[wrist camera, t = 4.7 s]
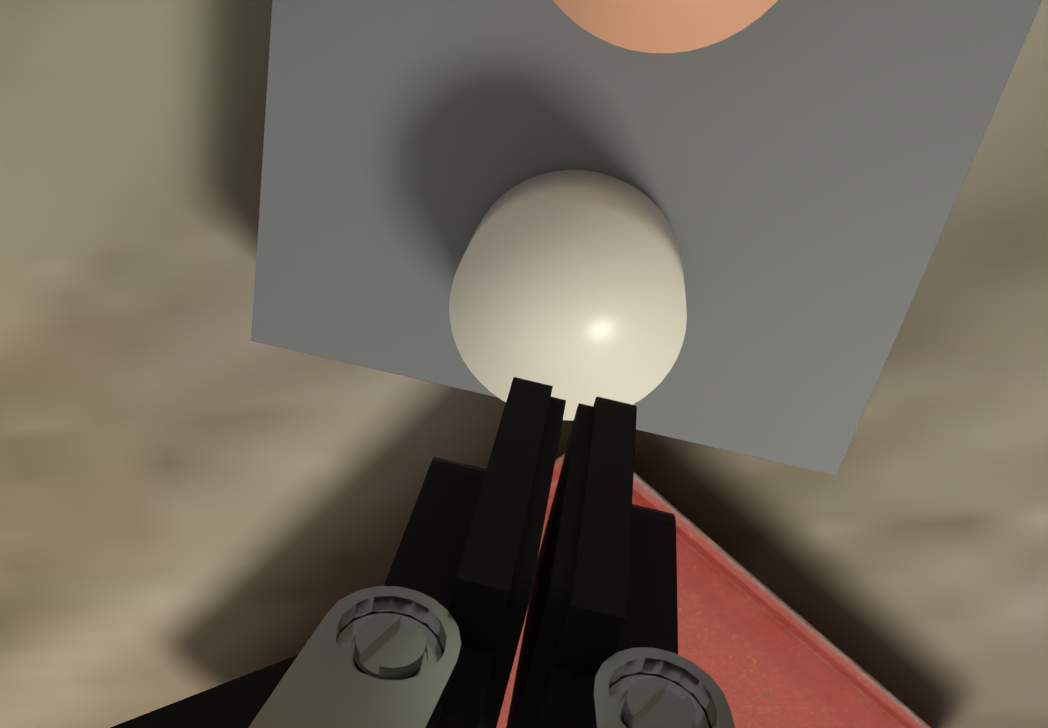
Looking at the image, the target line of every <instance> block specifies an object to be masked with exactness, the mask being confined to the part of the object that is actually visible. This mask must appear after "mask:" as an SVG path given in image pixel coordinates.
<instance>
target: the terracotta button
mask: <svg viewBox="0 0 1048 728" xmlns="http://www.w3.org/2000/svg"><path fill="white" fill-rule="evenodd" d="M553 1H554V2H555V3H556V5H557V6H558V7H559V8H560V9H561V10H562V11H563V12H564V13H565V14H566V15H567V16H568V17H569V18H570V19H572V20H573V21H574V22H575V23H576V24H578V25H579V26H580V27H581V28H583V29H584V30H586V31H588V32H589V33H591V34H592V35H594V36H596V37H597V38H600V39H602V40H604V41H606V42H608V43H611V44H613V45H616V46H619V47H622V48H626V49H629V50H633V51H640V52H646V53H677V52H685V51H691V50H695V49H699V48H703V47H707V46H709V45H712V44H714V43H717V42H719V41H722V40H724V39H726V38H728V37H730V36H732V35H734V34H736V33H737V32H739V31H741V30H743V29H744V28H746V27H747V26H748V25H750V24H751V23H753V22H754V21H755V20H757V19H758V18H760V17H761V16H762V15H763V14H764V13H765V12H766V11H767V10H768V9H769V8H771V7H772V6H773V5H774V4H775V3H776V2H777V1H778V0H553Z"/></svg>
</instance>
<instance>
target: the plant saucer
mask: <svg viewBox="0 0 1048 728" xmlns="http://www.w3.org/2000/svg"><path fill="white" fill-rule="evenodd" d="M564 456H565V453H564V454H563V455H562V456H560V457H559V458H558V459H556V460H555V465H554V471H553V476H552V482H551V488H550V493H549V499H548V504H547V510H546V515H545V521H544V526H543V532H542V537H541V543H540V548H541V544H542V540H543V536H544V532H545V529H546V525H547V521H548V517H549V513H550V509H551V506H552V502H553V498H554V494H555V490H556V486H557V483H558V479H559V475H560V471H561V467H562V464H563V460H564ZM632 504H635V505H639V506H643V507H647V508H651V509H656V510H660V511H664V512H668V513H672V514H674V516H675V519H676V549H677V610H678V655H680V656H682V657H684V658H686V659H688V660H690V661H692V662H694V663H695V664H696V665H697V666H699V667H700V668H701V669H702V670H704V671H705V672H706V673H707V674H709V675H710V676H711V677H712V679H713V680H714V681H715V682H716V684H717V685H718V686H719V687H720V689H721V690H722V691H723V693H724V695H725V698H726V700H727V702H728V705H729V707H730V709H731V713H732V717H733V721H734V725H735V728H932V727H931V726H929V725H928V724H927V723H926V722H925V721H924V720H923V719H921V718H920V717H919V716H918V715H917V714H915V713H914V712H913V711H912V710H911V709H910V708H908V707H907V706H906V705H905V704H904V703H903V702H901V701H900V700H899V699H898V698H897V697H896V696H894V695H893V694H892V693H891V692H890V691H889V690H888V689H886V688H885V687H884V686H883V685H882V684H881V683H880V682H878V681H877V680H876V679H875V678H874V677H872V676H871V675H870V674H869V673H868V672H867V671H865V670H864V669H863V668H862V667H861V666H860V665H858V664H857V663H856V662H855V661H854V660H852V659H851V658H850V657H849V656H848V655H847V654H845V653H844V652H843V651H842V650H841V649H840V648H838V647H837V646H836V645H835V644H834V643H832V642H831V641H830V640H829V639H828V638H827V637H825V636H824V635H823V634H822V633H821V632H819V631H818V630H817V629H816V628H815V627H814V626H812V625H811V624H810V623H809V622H808V621H806V620H805V619H804V618H803V617H802V616H801V615H799V614H798V613H797V612H796V611H795V610H794V609H792V608H791V607H790V606H789V605H788V604H787V603H785V602H784V601H783V600H782V599H781V598H780V597H779V596H777V595H776V594H775V593H774V592H773V591H772V590H770V589H769V588H768V587H767V586H766V585H765V584H763V583H762V582H761V581H760V580H759V579H758V578H756V577H755V576H754V575H753V574H752V573H751V572H749V571H748V570H747V569H746V568H745V567H744V566H742V565H741V564H740V563H739V562H738V561H737V560H735V559H734V558H733V557H732V556H731V555H729V554H728V553H727V552H726V551H725V550H724V549H722V548H721V547H720V546H719V545H718V544H717V543H716V542H714V541H713V540H712V539H711V538H710V537H709V536H708V535H706V534H705V533H704V532H703V531H702V530H701V529H699V528H698V527H697V526H696V525H695V524H694V523H693V522H691V521H690V520H689V519H688V518H687V517H686V516H685V515H683V514H682V513H681V512H680V511H679V510H678V509H676V508H675V507H674V506H673V505H672V504H671V503H670V502H668V501H667V500H666V499H665V498H664V497H663V496H662V495H660V494H659V493H658V492H657V491H656V490H655V489H653V488H652V487H651V486H650V485H649V484H648V483H647V482H645V481H644V480H643V479H642V478H641V477H640V476H639V475H637V474H636V473H635V472H634V476H633V496H632ZM539 552H540V549H539ZM538 556H539V554H538ZM527 610H528V609H527ZM526 616H527V613H526ZM525 621H526V617H525ZM525 621H524V625H523V628H522V632H521V636H520V640H519V644H518V647H517V651H516V655H515V659H514V663H513V666H512V670H511V674H510V678H509V682H508V685H507V689H506V693H505V697H504V701H503V704H502V708H501V712H500V716H499V719H498V723H497V727H496V728H506V726H507V720H508V715H509V709H510V704H511V698H512V693H513V687H514V682H515V676H516V671H517V665H518V660H519V654H520V649H521V643H522V638H523V632H524V627H525Z"/></svg>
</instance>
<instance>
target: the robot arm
mask: <svg viewBox="0 0 1048 728" xmlns="http://www.w3.org/2000/svg"><path fill="white" fill-rule="evenodd" d="M552 388H553V386H551V385H546V384H542V383H538V382H533V381H529V380H525V379H521V378H516V377H513V380H512V384H511V387H510V391H509V394H508V398H507V401H506V405H505V408H504V412H503V415H502V418H501V422H500V425H499V429H498V432H497V436H496V439H495V443H494V446H493V450H492V453H491V457H490V460H489V464H488V467H487V469H483V468H479V467H474V466H470V465H466V464H462V463H457V462H453V461H449V460H445V459H441V458H436V457H435V458H434V459H433V461H432V463H431V465H430V468H429V470H428V473H427V475H426V478H425V481H424V483H423V486H422V488H421V491H420V494H419V496H418V499H417V502H416V504H415V507H414V509H413V512H412V515H411V517H410V520H409V522H408V525H407V528H406V530H405V533H404V536H403V538H402V541H401V543H400V546H399V549H398V551H397V554H396V556H395V559H394V562H393V564H392V567H391V569H390V572H389V575H388V577H387V580H386V583H385V585H384V586H375V587H370V588H366V589H362V590H357V591H355V592H353V593H352V594H350V595H348V596H346V597H344V598H342V599H340V600H339V601H338V602H337V603H336V604H335V605H334V606H333V607H332V608H331V609H330V610H329V611H328V612H327V614H326V615H325V617H324V618H323V620H322V621H321V622H320V624H319V625H318V627H317V628H316V630H315V631H314V633H313V634H312V636H311V637H310V638H309V640H308V641H307V643H306V644H305V646H304V647H303V649H302V650H301V652H300V653H299V655H297V656H294V657H291V658H289V659H286V660H284V661H281V662H278V663H276V664H273V665H271V666H268V667H266V668H263V669H260V670H258V671H255V672H253V673H250V674H248V675H245V676H242V677H240V678H237V679H235V680H232V681H230V682H227V683H224V684H222V685H219V686H217V687H214V688H211V689H209V690H206V691H204V692H201V693H199V694H196V695H193V696H191V697H188V698H186V699H183V700H181V701H178V702H175V703H173V704H170V705H168V706H165V707H163V708H160V709H157V710H155V711H152V712H150V713H147V714H144V715H142V716H139V717H137V718H134V719H132V720H129V721H126V722H124V723H121V724H119V725H116V726H114V727H111V728H496V727H497V723H498V719H499V716H500V712H501V708H502V704H503V701H504V697H505V693H506V689H507V685H508V682H509V678H510V674H511V670H512V666H513V663H514V659H515V655H516V651H517V647H518V644H519V640H520V636H521V632H522V628H523V625H524V621H525V617H526V621H525V627H524V632H523V638H522V643H521V649H520V654H519V660H518V665H517V671H516V676H515V682H514V687H513V693H512V698H511V704H510V709H509V715H508V720H507V726H506V728H735V725H734V721H733V717H732V713H731V709H730V707H729V705H728V702H727V700H726V698H725V695H724V693H723V691H722V690H721V689H720V687H719V686H718V685H717V684H716V682H715V681H714V680H713V679H712V677H711V676H710V675H709V674H707V673H706V672H705V671H704V670H702V669H701V668H700V667H699V666H697V665H696V664H695V663H694V662H692V661H690V660H688V659H686V658H684V657H682V656H680V655H678V610H677V549H676V519H675V516H674V514H672V513H668V512H664V511H660V510H656V509H651V508H647V507H643V506H639V505H635V504H632V496H633V476H634V457H635V437H636V417H637V406H636V405H631V404H627V403H623V402H619V401H614V400H610V399H606V398H602V397H596V399H595V402H594V405H593V406H589V405H585V404H580V403H579V404H578V407H577V410H576V414H575V418H574V421H573V425H572V429H571V433H570V437H569V441H568V444H567V448H566V452H565V456H564V460H563V464H562V467H561V471H560V475H559V479H558V483H557V486H556V490H555V494H554V498H553V502H552V506H551V509H550V513H549V517H548V521H547V525H546V529H545V532H544V536H543V540H542V544H541V548H540V543H541V537H542V532H543V526H544V521H545V515H546V510H547V504H548V499H549V493H550V488H551V482H552V476H553V471H554V465H555V460H556V454H557V449H558V443H559V438H560V432H561V427H562V421H563V415H564V410H565V404H566V400H563V399H559V398H555V397H551V393H552ZM539 549H540V552H539ZM538 554H539V556H538ZM527 609H528V610H527ZM526 613H527V616H526Z"/></svg>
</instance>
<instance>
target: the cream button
mask: <svg viewBox="0 0 1048 728" xmlns="http://www.w3.org/2000/svg"><path fill="white" fill-rule="evenodd" d="M449 317H450V324H451V330H452V334H453V337H454V340H455V343H456V346H457V349H458V351H459V353H460V355H461V357H462V359H463V361H464V362H465V364H466V365H467V367H468V368H469V370H470V371H471V372H472V374H473V375H474V376H475V377H476V378H477V379H478V381H479V382H480V383H481V384H482V385H483V386H485V387H486V388H487V389H488V390H489V391H490V392H491V393H493V394H494V395H495V396H497V397H498V398H500V399H501V400H502V401H504V402H506V401H507V398H508V394H509V391H510V387H511V384H512V380H513V377H516V378H521V379H525V380H529V381H533V382H538V383H542V384H546V385H551V386H553V388H552V393H551V397H555V398H559V399H563V400H566V404H565V410H564V415H563V420H571V421H573V420H574V418H575V414H576V410H577V407H578V404H579V403H580V404H585V405H589V406H593V405H594V402H595V399H596V397H602V398H606V399H610V400H614V401H619V402H623V403H627V404H631V405H633V404H635V403H636V402H638V401H640V400H641V399H643V398H644V397H645V396H647V395H648V394H649V393H650V392H652V391H653V390H654V389H655V388H656V387H657V386H658V385H659V384H660V383H661V382H662V381H663V379H664V378H665V377H666V375H667V374H668V373H669V371H670V370H671V368H672V366H673V365H674V363H675V361H676V359H677V357H678V355H679V352H680V350H681V347H682V345H683V340H684V336H685V332H686V322H687V309H686V295H685V283H684V271H683V259H682V255H681V250H680V246H679V243H678V240H677V237H676V234H675V232H674V230H673V229H672V227H671V225H670V223H669V221H668V220H667V218H666V217H665V215H664V214H663V213H662V211H661V210H660V209H659V208H658V207H657V206H656V205H655V204H654V202H653V201H652V200H651V199H650V198H648V197H647V196H646V195H645V194H643V193H642V192H641V191H640V190H638V189H636V188H635V187H633V186H631V185H630V184H628V183H626V182H624V181H622V180H620V179H617V178H615V177H613V176H609V175H606V174H603V173H599V172H593V171H587V170H560V171H553V172H549V173H544V174H540V175H538V176H535V177H532V178H530V179H527V180H525V181H523V182H521V183H519V184H518V185H516V186H514V187H513V188H511V189H510V190H509V191H507V192H506V193H504V194H503V195H502V196H501V197H500V198H499V199H498V200H497V201H496V202H495V203H494V204H493V205H492V206H491V207H490V209H489V210H488V211H487V212H486V214H485V215H484V217H483V218H482V220H481V222H480V223H479V225H478V227H477V229H476V231H475V233H474V235H473V237H472V239H471V241H470V243H469V245H468V247H467V250H466V252H465V254H464V256H463V258H462V260H461V262H460V264H459V266H458V269H457V271H456V274H455V276H454V279H453V283H452V287H451V291H450V301H449Z"/></svg>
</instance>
